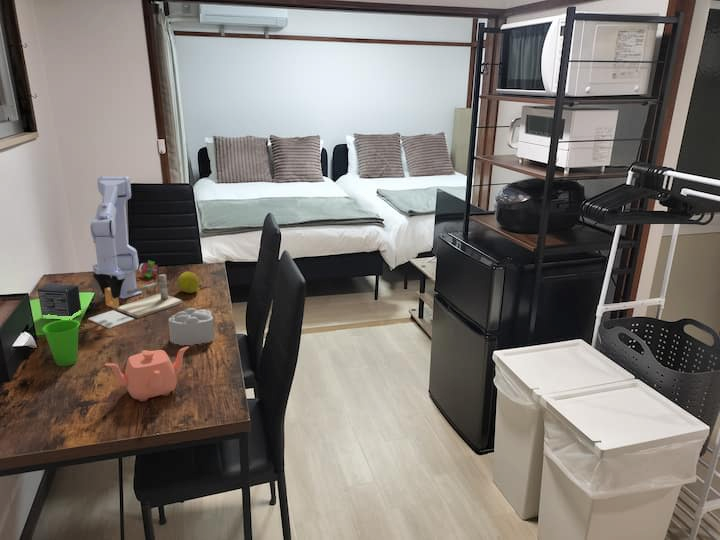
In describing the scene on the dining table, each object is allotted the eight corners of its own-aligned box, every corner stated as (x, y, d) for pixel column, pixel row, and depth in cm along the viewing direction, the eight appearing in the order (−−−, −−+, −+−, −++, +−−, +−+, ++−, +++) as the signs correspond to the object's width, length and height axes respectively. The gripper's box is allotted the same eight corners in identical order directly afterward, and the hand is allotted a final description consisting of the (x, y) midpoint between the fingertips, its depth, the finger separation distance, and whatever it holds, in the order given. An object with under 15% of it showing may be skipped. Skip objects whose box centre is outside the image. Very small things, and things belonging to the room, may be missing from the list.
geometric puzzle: (156, 266, 221) (144, 254, 216) (165, 269, 218) (154, 257, 212) (144, 279, 218) (132, 267, 213) (154, 283, 215) (142, 271, 209)
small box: (83, 313, 178) (79, 284, 175) (71, 321, 172) (67, 291, 168) (54, 311, 179) (49, 282, 175) (41, 319, 172) (36, 289, 169)
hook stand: (117, 309, 182) (113, 282, 179) (161, 295, 196) (159, 270, 193) (138, 318, 175) (135, 290, 172) (182, 302, 190) (180, 276, 187)
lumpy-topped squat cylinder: (215, 342, 161) (214, 316, 158) (171, 348, 156) (168, 321, 153) (211, 328, 170) (210, 304, 167) (169, 334, 165) (167, 308, 162)
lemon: (199, 296, 197) (198, 276, 194) (177, 297, 195) (176, 277, 192) (200, 286, 207) (199, 267, 204) (179, 287, 205) (178, 268, 202)
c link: (106, 305, 174) (103, 288, 172) (110, 303, 175) (108, 286, 173) (114, 308, 171) (112, 291, 169) (119, 307, 173) (117, 290, 171)
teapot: (192, 381, 139) (189, 343, 135) (162, 410, 125) (158, 370, 122) (143, 373, 141) (139, 336, 138) (108, 402, 128) (103, 362, 124)
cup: (47, 372, 140) (41, 335, 137) (48, 358, 148) (42, 322, 144) (85, 366, 144) (79, 329, 141) (84, 352, 152) (79, 317, 148)
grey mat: (87, 319, 173) (87, 318, 173) (113, 311, 180) (112, 310, 180) (109, 328, 167) (108, 327, 167) (134, 319, 174) (134, 318, 174)
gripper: (81, 254, 168) (87, 293, 173) (108, 263, 161) (113, 304, 165) (102, 249, 174) (107, 288, 178) (128, 258, 167) (133, 297, 171)
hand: (111, 295), depth 172 cm, fingers closed on c link, 5 cm apart
